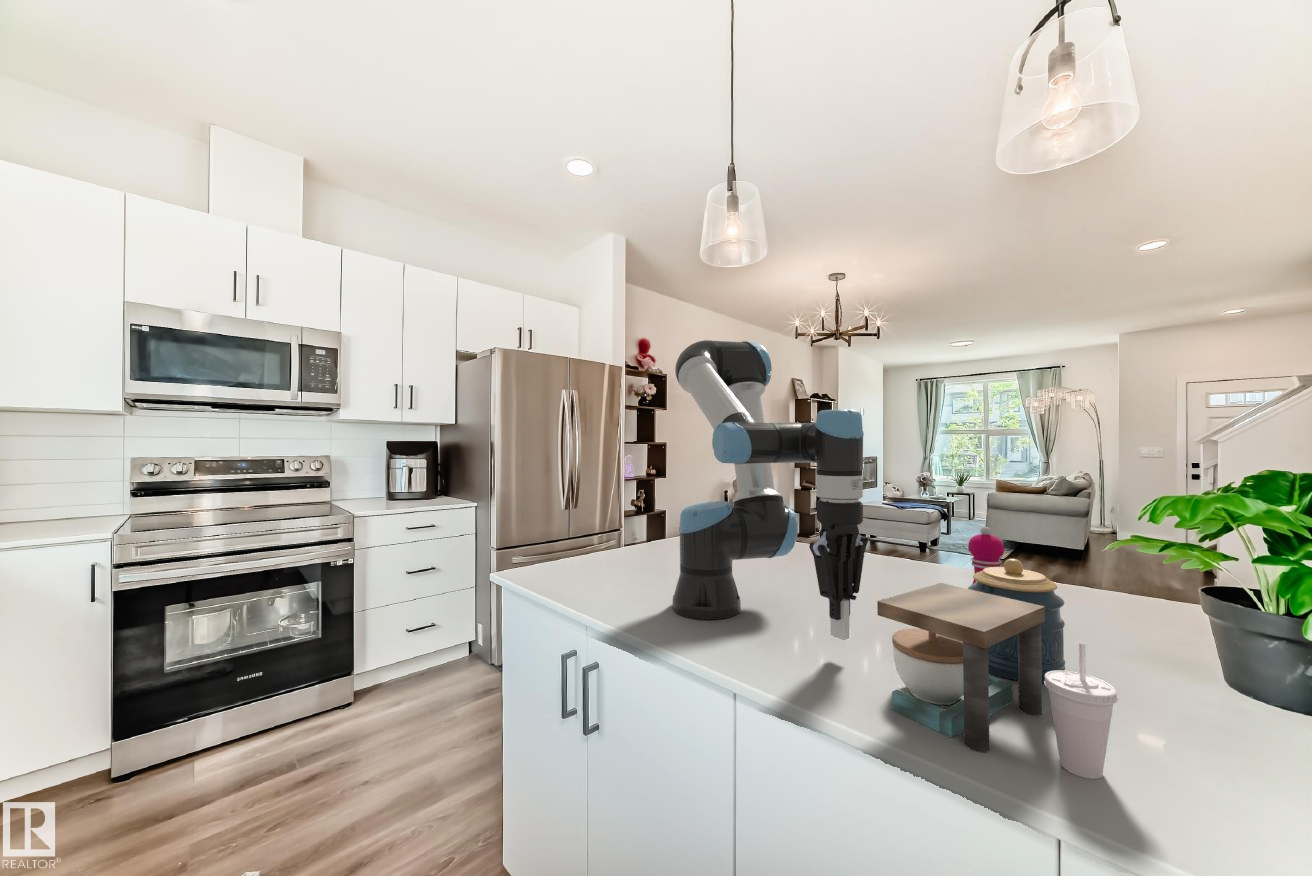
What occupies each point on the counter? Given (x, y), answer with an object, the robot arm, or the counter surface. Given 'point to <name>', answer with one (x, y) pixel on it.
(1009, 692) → the overhang shelf
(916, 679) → the lidded jar
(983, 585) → the canister
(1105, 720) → the smoothie
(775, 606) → the counter surface
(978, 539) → the pepper mill
